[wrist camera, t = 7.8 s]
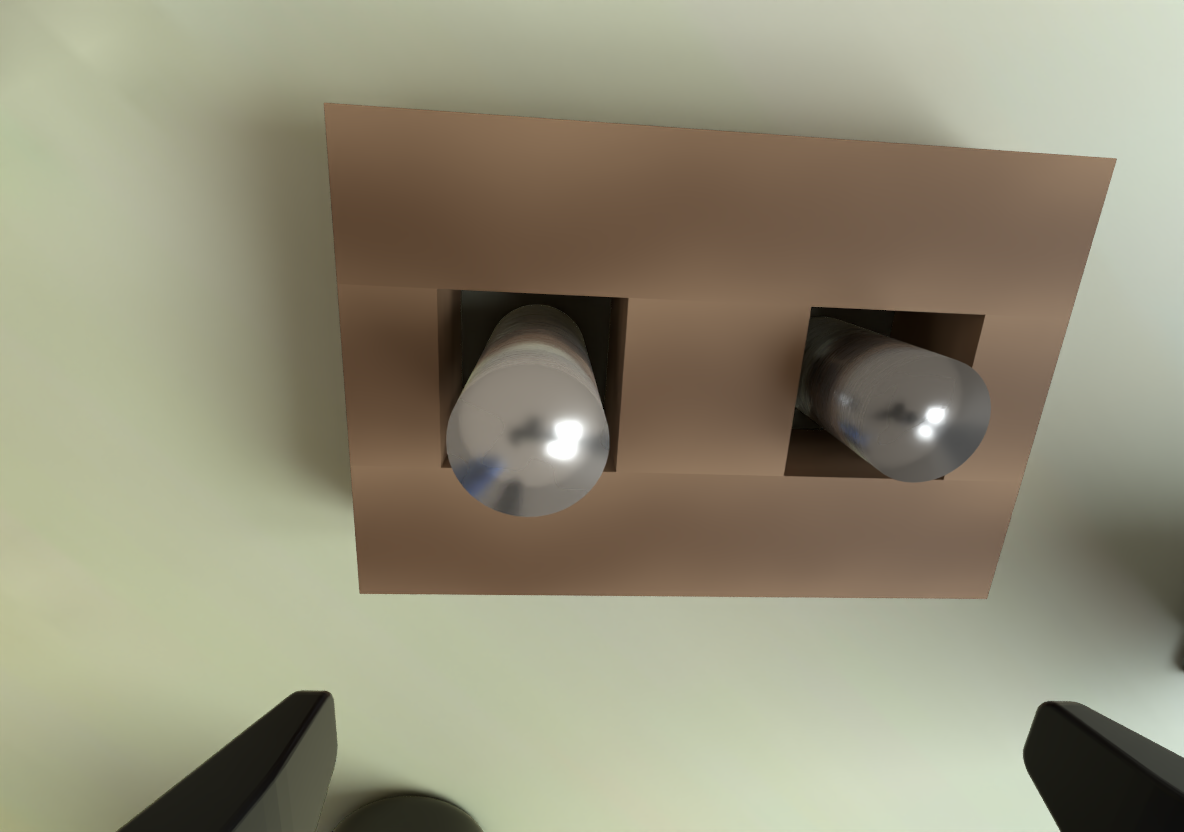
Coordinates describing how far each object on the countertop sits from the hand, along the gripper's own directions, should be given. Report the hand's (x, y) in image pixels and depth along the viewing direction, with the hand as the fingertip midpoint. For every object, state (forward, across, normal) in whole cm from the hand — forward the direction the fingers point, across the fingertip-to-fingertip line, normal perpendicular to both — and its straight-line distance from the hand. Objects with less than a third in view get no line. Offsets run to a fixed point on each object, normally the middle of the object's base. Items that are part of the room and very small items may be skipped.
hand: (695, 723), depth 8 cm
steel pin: (+12, +2, -2) cm, 13 cm away
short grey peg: (+13, -6, -2) cm, 14 cm away
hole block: (+13, -2, -2) cm, 13 cm away
